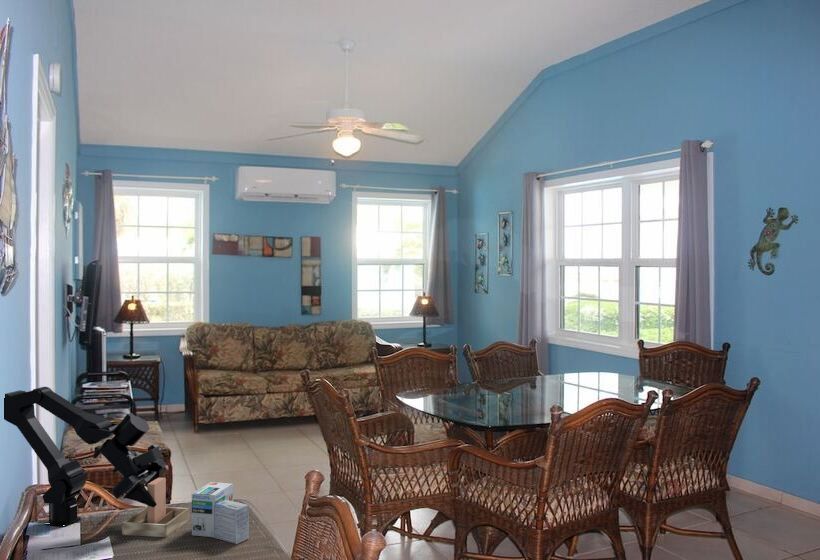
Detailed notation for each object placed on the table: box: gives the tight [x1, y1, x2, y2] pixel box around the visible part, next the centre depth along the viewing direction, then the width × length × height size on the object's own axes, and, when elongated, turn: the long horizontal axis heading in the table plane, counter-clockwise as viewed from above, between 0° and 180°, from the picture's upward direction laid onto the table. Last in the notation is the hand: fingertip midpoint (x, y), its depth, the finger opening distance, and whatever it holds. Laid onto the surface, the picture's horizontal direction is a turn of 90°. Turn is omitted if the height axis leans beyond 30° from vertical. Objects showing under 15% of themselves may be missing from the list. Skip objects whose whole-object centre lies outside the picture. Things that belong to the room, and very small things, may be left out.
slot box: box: [121, 506, 191, 538], centre depth 184 cm, size 12×13×3 cm
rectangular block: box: [146, 477, 167, 524], centre depth 184 cm, size 2×6×12 cm, turn 172°
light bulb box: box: [191, 481, 234, 538], centre depth 183 cm, size 11×7×11 cm, turn 168°
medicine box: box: [213, 500, 250, 545], centre depth 176 cm, size 8×4×9 cm, turn 58°
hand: (161, 501), depth 184 cm, fingers open, 7 cm apart
